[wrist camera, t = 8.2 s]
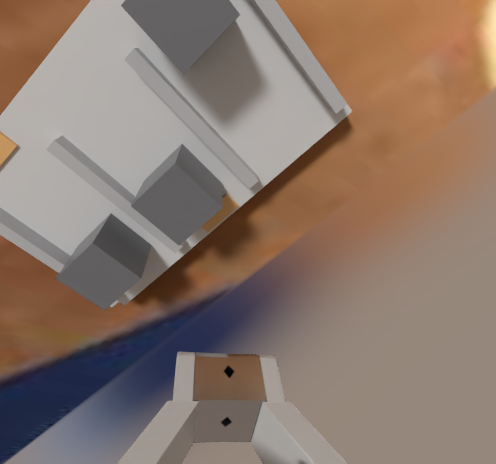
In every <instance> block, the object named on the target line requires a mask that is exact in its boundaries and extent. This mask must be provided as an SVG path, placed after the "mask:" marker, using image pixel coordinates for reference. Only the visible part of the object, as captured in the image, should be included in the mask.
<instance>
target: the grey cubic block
mask: <svg viewBox="0 0 496 464" xmlns="http://www.w3.org/2000/svg"><path fill="white" fill-rule="evenodd" d="M131 207H132V208H134V209H135V210H136V211H137V212H138V213H140V214H141V215H142V216H143V217H145V218H146V219H147V220H148V221H149V222H151V223H152V224H153V225H154V226H155V227H157V228H158V229H159V230H160V231H162V232H163V233H164V234H165V235H166V236H168V237H169V238H170V239H171V240H172V241H174V242H175V243H176V244H177V245H180V244H182V243H183V242H184V241H185V240H186V239H187V238H189V237H190V236H191V235H192V234H193V233H194V232H195V231H197V230H198V229H199V228H200V227H201V226H202V225H204V224H205V223H206V222H207V221H208V220H209V219H210V218H212V217H213V216H214V215H215V214H216V213H217V212H219V211H220V210H221V209H222V208H223V203H222V183H221V182H220V181H219V180H218V179H217V178H216V177H215V176H214V175H213V174H212V173H211V172H210V171H209V170H208V169H207V168H206V167H205V166H204V165H203V164H202V163H201V162H200V161H199V160H198V159H197V158H196V157H195V156H194V155H193V154H192V153H191V152H190V151H189V150H188V149H187V148H186V147H185V146H184V145H183V144H181V145H180V146H179V147H178V148H177V149H176V150H175V151H174V152H173V153H172V154H171V155H170V156H169V157H168V158H167V159H166V160H165V161H164V162H163V163H162V164H161V165H160V166H158V167H157V168H156V169H155V170H154V171H153V172H152V173H151V174H150V175H149V176H148V177H147V178H146V179H145V180H144V182H143V183H142V185H141V187H140V189H139V191H138V193H137V195H136V197H135V199H134V201H133V202H132V204H131Z"/></svg>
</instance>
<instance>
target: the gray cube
mask: <svg viewBox="0 0 496 464" xmlns="http://www.w3.org/2000/svg"><path fill="white" fill-rule="evenodd" d="M151 246H152V245H151V244H149V243H148V242H147V241H146V240H144V239H143V238H142V237H140V236H139V235H138V234H137V233H135V232H134V231H133V230H132V229H130V228H129V227H128V226H126V225H125V224H124V223H123V222H121V221H120V220H119V219H118V218H116V217H115V216H114V215H113V214H110V215H109V216H107V217H106V218H105V219H104V220H103V221H102V222H101V223H100V224H99V225H98V226H97V227H96V228H95V229H94V230H93V231H92V232H91V233H90V234H89V235H88V236H87V237H86V238H85V239H84V240H83V241H82V242H81V243H80V244H79V245H78V246H77V248H76V249H75V251H74V252H73V254H72V255H71V257H70V258H69V260H68V261H67V263H66V264H65V265H64V267H63V268H62V270H61V271H60V273H59V274H58V276H57V277H56V279H57V280H58V281H60V282H62V283H63V284H65V285H66V286H68V287H69V288H71V289H72V290H74V291H76V292H77V293H79V294H80V295H82V296H83V297H85V298H86V299H88V300H90V301H91V302H93V303H94V304H96V305H97V306H99V307H100V308H102V309H104V310H106V309H107V308H108V307H109V306H110V305H111V304H113V303H114V302H115V301H116V300H117V299H118V298H119V297H121V296H122V295H123V294H124V293H125V292H126V291H128V290H129V289H130V288H131V287H132V286H133V285H134V284H136V283H137V282H138V281H139V280H140V279H141V278H142V275H143V272H144V268H145V265H146V262H147V259H148V256H149V253H150V250H151Z"/></svg>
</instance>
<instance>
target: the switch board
mask: <svg viewBox="0 0 496 464" xmlns="http://www.w3.org/2000/svg"><path fill="white" fill-rule="evenodd" d="M124 1H125V0H91V1H90V2H89V4H88V5H87V6H86V7H85V9H84V10H83V11H82V13H81V14H80V15H79V16H78V18H77V19H76V20H75V21H74V23H73V24H72V25H71V26H70V28H69V29H68V30H67V32H66V33H65V34H64V35H63V37H62V38H61V39H60V40H59V42H58V43H57V44H56V46H55V47H54V48H53V49H52V51H51V52H50V53H49V54H48V56H47V57H46V58H45V60H44V61H43V62H42V63H41V65H40V66H39V67H38V68H37V70H36V71H35V72H34V74H33V75H32V76H31V77H30V79H29V80H28V81H27V82H26V84H25V85H24V86H23V88H22V89H21V90H20V91H19V93H18V94H17V95H16V96H15V98H14V99H13V100H12V102H11V103H10V104H9V105H8V107H7V108H6V109H5V110H4V112H3V113H2V114H1V116H0V235H2V236H3V237H5V238H6V239H8V240H9V241H11V242H12V243H14V244H15V245H17V246H18V247H20V248H21V249H23V250H25V251H26V252H28V253H29V254H31V255H32V256H34V257H35V258H37V259H38V260H40V261H41V262H43V263H44V264H46V265H47V266H49V267H51V268H52V269H54V270H55V271H57V272H58V273H60V271H61V270H62V268H63V267H64V265H65V264H66V263H67V261H68V260H69V258H70V257H71V255H72V254H73V252H74V251H75V249H76V248H77V246H78V245H79V244H80V243H81V242H82V241H83V240H84V239H85V238H86V237H87V236H88V235H89V234H90V233H91V232H92V231H93V230H94V229H95V228H96V227H97V226H98V225H99V224H100V223H101V222H102V221H103V220H104V219H105V218H106V217H107V216H109V215H110V214H113V215H114V216H115V217H116V218H118V219H119V220H120V221H121V222H123V223H124V224H125V225H126V226H128V227H129V228H130V229H132V230H133V231H134V232H135V233H137V234H138V235H139V236H140V237H142V238H143V239H144V240H146V241H147V242H148V243H149V244H151V245H152V246H151V250H150V253H149V256H148V259H147V262H146V265H145V268H144V272H143V275H142V278H141V279H140V280H139V281H138V282H137V283H136V284H134V285H133V286H132V287H131V288H130V289H129V290H128V291H126V292H125V293H124V294H123V295H122V296H121V297H119V298H118V299H117V300H116V301H115V302H114V303H113V304H111V305H110V307H113V306H114V305H116V304H117V303H118V302H120V303H121V304H123V305H124V306H125V305H126V304H127V303H128V302H129V301H131V300H132V299H133V298H134V297H135V296H137V295H138V294H139V293H140V292H141V291H142V290H144V289H145V288H146V287H147V286H148V285H149V284H151V283H152V282H153V281H154V280H155V279H156V278H158V277H159V276H160V275H161V274H162V273H164V272H165V271H166V270H167V269H168V268H169V267H171V266H172V265H173V264H174V263H175V262H176V261H178V260H179V259H180V258H181V257H182V256H183V255H185V254H186V253H187V252H188V251H189V250H190V249H192V248H193V247H194V246H195V245H196V244H198V243H199V242H200V241H201V240H202V239H203V238H205V237H206V236H207V235H208V234H209V233H210V232H212V231H213V230H214V229H215V228H216V227H217V226H219V225H220V224H221V223H222V222H223V221H224V220H226V219H227V218H228V217H229V216H230V215H232V214H233V213H234V212H235V211H236V210H237V209H239V208H240V207H241V206H242V205H243V204H244V203H246V202H247V201H248V200H249V199H250V198H251V197H253V196H254V195H255V194H256V193H257V192H258V191H260V190H261V189H262V188H263V187H264V186H266V185H267V184H268V183H269V182H270V181H271V180H273V179H274V178H275V177H276V176H277V175H278V174H280V173H281V172H282V171H283V170H284V169H285V168H287V167H288V166H289V165H290V164H291V163H293V162H294V161H295V160H296V159H297V158H298V157H300V156H301V155H302V154H303V153H304V152H305V151H307V150H308V149H309V148H310V147H311V146H312V145H314V144H315V143H316V142H317V141H318V140H319V139H321V138H322V137H323V136H324V135H325V134H327V133H328V132H329V131H330V130H331V129H332V128H334V127H335V126H336V125H337V124H338V123H339V122H341V121H342V120H343V119H344V118H345V117H346V116H348V115H349V114H350V113H351V112H352V110H351V109H350V107H349V106H348V104H347V103H346V101H345V100H344V98H343V97H342V95H341V94H340V93H339V91H338V90H337V88H336V87H335V85H334V84H333V83H332V81H331V80H330V78H329V77H328V75H327V74H326V72H325V71H324V70H323V68H322V67H321V65H320V64H319V62H318V61H317V60H316V58H315V57H314V55H313V54H312V52H311V51H310V49H309V48H308V47H307V45H306V44H305V42H304V41H303V39H302V38H301V36H300V35H299V34H298V32H297V31H296V29H295V28H294V26H293V25H292V24H291V22H290V21H289V19H288V18H287V16H286V15H285V13H284V12H283V11H282V9H281V8H280V6H279V5H278V3H277V2H276V0H230V2H231V3H232V4H233V6H234V7H235V8H236V10H237V11H238V12H239V14H240V16H239V17H238V18H237V19H236V20H235V21H234V22H233V24H232V25H231V26H230V27H229V28H228V29H227V30H226V31H225V32H224V33H223V34H222V35H221V36H220V37H219V38H218V39H217V40H216V41H215V43H214V44H213V45H212V46H211V47H210V48H209V49H208V50H207V51H206V52H205V53H204V54H203V55H202V56H201V57H200V58H199V59H198V60H197V62H196V63H195V64H194V65H193V66H192V67H191V68H190V69H189V70H188V71H187V72H186V73H185V74H184V75H183V74H182V73H181V72H180V70H179V69H178V68H177V67H176V66H175V65H174V64H173V63H172V62H171V60H170V59H169V58H168V57H167V56H166V55H165V54H164V53H163V52H162V51H161V49H160V48H159V47H158V46H157V45H156V44H155V43H154V42H153V41H152V39H151V38H150V37H149V36H148V35H147V34H146V33H145V32H144V31H143V30H142V28H141V27H140V26H139V25H138V24H137V23H136V22H135V21H134V20H133V18H132V17H131V16H130V15H129V14H128V13H127V12H126V11H125V10H124V9H123V7H122V6H121V5H122V4H123V2H124ZM181 144H183V145H184V146H185V147H186V148H187V149H188V150H189V151H190V152H191V153H192V154H193V155H194V156H195V157H196V158H197V159H198V160H199V161H200V162H201V163H202V164H203V165H204V166H205V167H206V168H207V169H208V170H209V171H210V172H211V173H212V174H213V175H214V176H215V177H216V178H217V179H218V180H219V181H220V182H221V183H222V203H223V208H222V209H221V210H220V211H219V212H217V213H216V214H215V215H214V216H213V217H212V218H210V219H209V220H208V221H207V222H206V223H205V224H204V225H202V226H201V227H200V228H199V229H198V230H197V231H195V232H194V233H193V234H192V235H191V236H190V237H189V238H187V239H186V240H185V241H184V242H183V243H182V244H180V245H177V244H176V243H175V242H174V241H172V240H171V239H170V238H169V237H168V236H166V235H165V234H164V233H163V232H162V231H160V230H159V229H158V228H157V227H155V226H154V225H153V224H152V223H151V222H149V221H148V220H147V219H146V218H145V217H143V216H142V215H141V214H140V213H138V212H137V211H136V210H135V209H134V208H132V207H131V204H132V202H133V201H134V199H135V197H136V195H137V193H138V191H139V189H140V187H141V185H142V183H143V182H144V180H145V179H146V178H147V177H148V176H149V175H150V174H151V173H152V172H153V171H154V170H155V169H156V168H157V167H158V166H160V165H161V164H162V163H163V162H164V161H165V160H166V159H167V158H168V157H169V156H170V155H171V154H172V153H173V152H174V151H175V150H176V149H177V148H178V147H179V146H180V145H181Z"/></svg>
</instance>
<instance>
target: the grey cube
mask: <svg viewBox="0 0 496 464" xmlns="http://www.w3.org/2000/svg"><path fill="white" fill-rule="evenodd" d="M121 6H122V7H123V9H124V10H125V11H126V12H127V13H128V14H129V15H130V16H131V17H132V18H133V20H134V21H135V22H136V23H137V24H138V25H139V26H140V27H141V28H142V30H143V31H144V32H145V33H146V34H147V35H148V36H149V37H150V38H151V39H152V41H153V42H154V43H155V44H156V45H157V46H158V47H159V48H160V49H161V51H162V52H163V53H164V54H165V55H166V56H167V57H168V58H169V59H170V60H171V62H172V63H173V64H174V65H175V66H176V67H177V68H178V69H179V70H180V72H181V73H182V74H183V75H184V74H185V73H186V72H187V71H188V70H189V69H190V68H191V67H192V66H193V65H194V64H195V63H196V62H197V60H198V59H199V58H200V57H201V56H202V55H203V54H204V53H205V52H206V51H207V50H208V49H209V48H210V47H211V46H212V45H213V44H214V43H215V41H216V40H217V39H218V38H219V37H220V36H221V35H222V34H223V33H224V32H225V31H226V30H227V29H228V28H229V27H230V26H231V25H232V24H233V22H234V21H235V20H236V19H237V18H238V17H239V16H240V14H239V12H238V11H237V10H236V8H235V7H234V6H233V4H232V3H231V2H230V0H125V1H124V2H123V4H122V5H121Z"/></svg>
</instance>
